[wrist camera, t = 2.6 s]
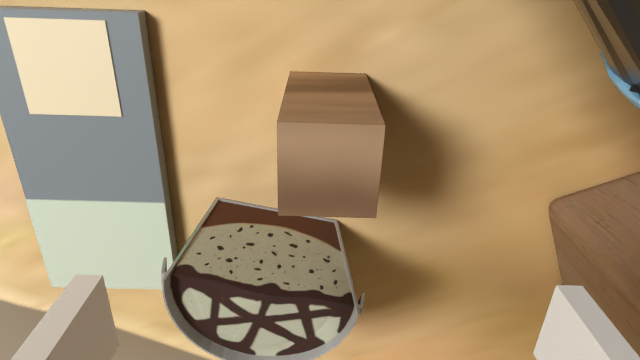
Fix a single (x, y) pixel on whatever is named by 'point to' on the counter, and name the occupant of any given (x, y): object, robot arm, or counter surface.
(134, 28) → the board
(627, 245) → the wooden block
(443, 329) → the counter surface
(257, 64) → the counter surface
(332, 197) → the walnut pillar
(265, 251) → the food container
